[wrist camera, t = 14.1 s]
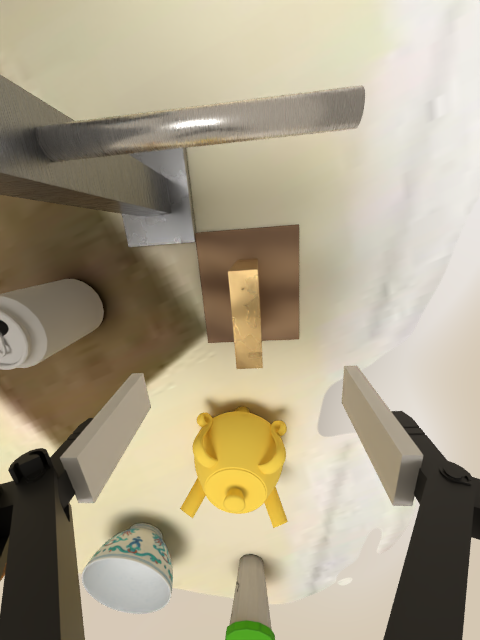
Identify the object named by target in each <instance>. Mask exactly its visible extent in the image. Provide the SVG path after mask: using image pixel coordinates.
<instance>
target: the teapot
mask: <svg viewBox="0 0 480 640" xmlns="http://www.w3.org/2000/svg"><path fill="white" fill-rule="evenodd" d="M197 423H198V424H199V425H200V426H201V427H202V428H201V430H200V431H199V433H198V435H197V436H196V438H195V440H194V442H193V453H194V460H195V468H196V472H197V476H198V478H197V480H196V482H195V484H194V485H193V487H192V489H191V491H190V492H189V494H188V496H187V498H186V500H185V501H184V503H183V505H182V507H181V508H180V509H181V510H182V511H184V512H185V513H186V514H188V515H189V516H190V517H192V518H193V517H194V515H195V513H196V511H197V510H198V508H199V506H200V504H201V503H202V501H203V499H204V497H205V496H207V498H208V500H209V501H210V502H211V503H212V504H213V505H214V506H216V507H217V508H219V509H221V510H223V511H226V512H229V513H236V514H241V513H248V512H251V511H253V510H255V509H257V508H259V507H260V506H261V505H262V504H263V503H265V506H266V508H267V511H268V514H269V517H270V519H271V522H272V525H273V528H275V527H277V526H279V525H282V524H284V523H286V522H288V521H287V518H286V515H285V513H284V510H283V507H282V504H281V501H280V498H279V496H278V493H277V490H276V487H275V486H276V484H277V482H278V480H279V477H280V474H281V471H282V467H283V463H284V461H285V458H286V451H285V447H284V445H283V442H282V439H281V437H280V436H283V435H284V434H285V433H286V430H287V427H286V425H285V423H284V422H283V421H274V422H273V423H272V424H270V423H269V422H267V421H266V420H265V419H263V418H261V417H259V416H257V415H254V414H252V413H250V411H249V410H248V408H246V407H238V408H237V409H236V410H235V412H227V413H224V414H220V415H218V416H216V417H214V418H212V417H211V415H210V414H208V413H201V414H200V415H199V416H198V417H197Z"/></svg>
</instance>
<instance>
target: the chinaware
mask: <svg viewBox="0 0 480 640" xmlns="http://www.w3.org/2000/svg"><path fill="white" fill-rule="evenodd" d="M82 583H83V586H84V588H85V589H86V591H87V592H88V593H89V594H90V595H91V596H92V597H93V598H94V599H95V600H97V601H98V602H100V603H101V604H103V605H105V606H107V607H109V608H112V609H114V610H118V611H121V612H126V613H133V614H145V613H152V612H155V611H158V610H160V609H162V608H163V607H165V606H166V605H167V604H168V602H169V601H170V598H171V593H172V583H173V570H172V561H171V557H170V554H169V551H168V548H167V546H166V545H165V543H164V541H163V536H162V533H161V532H160V530H159V529H158V528H156V527H155V526H153V525H150V524H146V523H138V524H135V525H133V526H131V527H130V529H129V530H126V531H123V532H121V533H119V534H117V535H115V536H114V537H112V538H111V539H110V540H108V541H107V542H106V543H105V544H104V545H103V546H102V547H101V548H100V549H99V550H98V551H97V552H96V553H95V555H94V556H93V557H92V558H91V560H90V561H89V562H88V564H87V565H86V567H85V568H84V570H83V573H82Z"/></svg>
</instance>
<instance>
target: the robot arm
mask: <svg viewBox="0 0 480 640" xmlns="http://www.w3.org/2000/svg"><path fill="white" fill-rule="evenodd" d="M342 404H343V406H344V408H345V410H346V412H347V414H348V416H349V418H350V420H351V422H352V424H353V426H354V428H355V430H356V432H357V434H358V436H359V438H360V440H361V442H362V444H363V446H364V448H365V450H366V452H367V454H368V456H369V458H370V460H371V462H372V464H373V466H374V468H375V470H376V472H377V474H378V476H379V478H380V480H381V482H382V484H383V486H384V488H385V490H386V492H387V494H388V497H389V499H390V501H391V503H392V505H393V506H412V505H413V500H414V496H415V497H416V499H417V500H418V502H419V504H420V506H419V511H418V514H417V518H416V521H415V525H414V529H413V532H412V536H411V540H410V544H409V547H408V551H407V555H406V558H405V562H404V566H403V569H402V573H401V577H400V581H399V584H398V588H397V592H396V595H395V599H394V603H393V606H392V610H391V614H390V617H389V621H388V625H387V629H386V632H385V636H384V640H462V635H463V624H464V612H465V600H466V590H467V577H468V566H469V555H470V543H471V537H473V538H476V539H479V540H480V479H477V478H474V477H472V476H471V475H470V473H468V472H467V471H466V470H465V469H464V468H462V467H460V466H459V465H457V464H455V463H452V462H449V461H447V460H446V459H445V457H444V456H443V455H442V454H441V452H440V451H439V450H438V449H437V448H436V446H435V445H434V444H433V443H432V442H431V440H430V439H429V438H428V437H427V435H425V433H424V432H423V431H422V430H421V428H419V426H418V425H417V423H416V422H415V421H414V420H413V419H412V418H411V417H410V416H408V415H407V414H405V413H404V412H402V411H390V409H389V408H388V407H387V406H386V404H385V403H384V401H383V400H382V399H381V397H380V396H379V395H378V393H377V392H376V391H375V389H374V388H373V387H372V385H371V384H370V383H369V381H368V380H367V379H366V377H365V376H364V375H363V373H362V372H361V370H360V369H359V368H358V366H344V378H343V393H342ZM150 408H151V405H150V401H149V396H148V392H147V388H146V383H145V379H144V375H143V373H133V374H131V375H130V377H129V378H128V379H127V380H126V381H125V382H124V384H123V385H122V386H121V387H120V388H119V389H118V391H117V392H116V393H115V394H114V395H113V396H112V398H111V399H110V400H109V401H108V402H107V403H106V405H105V406H104V407H103V408H102V409H101V410H100V412H99V413H98V414H97V415H96V416H95V417H94V418H89V419H87V420H86V421H85V422H83V423H82V424H80V425H79V426H78V427H77V429H76V430H75V431H74V432H73V434H71V435H70V436H69V437H68V439H67V440H66V441H65V442H64V443H63V444H62V445H61V446H60V447H59V449H58V450H57V451H56V452H55V453H54V454H53V455H52V456H51V457H49V455H48V452H47V450H46V449H43V448H40V449H35V450H32V451H29V452H27V453H25V454H23V455H22V456H20V457H19V458H17V459H16V460H15V461H14V462H13V463H12V464H11V465H10V468H9V470H8V471H9V472H10V474H11V476H12V478H13V480H14V481H11V482H8V483H4V484H0V578H1V575H2V573H3V570H4V567H5V565H6V571H5V579H4V587H3V596H2V604H1V613H0V640H85V637H84V626H83V617H82V608H81V597H80V587H79V579H78V568H77V558H76V548H75V539H74V529H73V519H72V509H71V505H70V503H69V502H70V500H71V499H72V497H73V496H74V494H75V495H76V498H77V500H78V502H79V503H95V501H96V499H97V498H98V496H99V494H100V493H101V491H102V489H103V488H104V486H105V484H106V483H107V481H108V479H109V477H110V476H111V474H112V472H113V471H114V469H115V467H116V466H117V464H118V462H119V460H120V459H121V457H122V455H123V454H124V452H125V450H126V449H127V447H128V445H129V444H130V442H131V440H132V438H133V437H134V435H135V433H136V432H137V430H138V428H139V427H140V425H141V423H142V421H143V420H144V418H145V416H146V415H147V413H148V411H149V410H150Z"/></svg>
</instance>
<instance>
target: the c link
mask: <svg viewBox="0 0 480 640" xmlns="http://www.w3.org/2000/svg"><path fill="white" fill-rule="evenodd" d="M228 277H229V288H230V299H231V310H232V321H233V333H234V344H235V355H236V366H237V369H246V368H263V366H262V336H261V314H260V294H259V275H258V258H257V259H243V260H237V261H236V262H235V264H234V265H233V266H232V267H231V269H230V270H229V271H228Z"/></svg>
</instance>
